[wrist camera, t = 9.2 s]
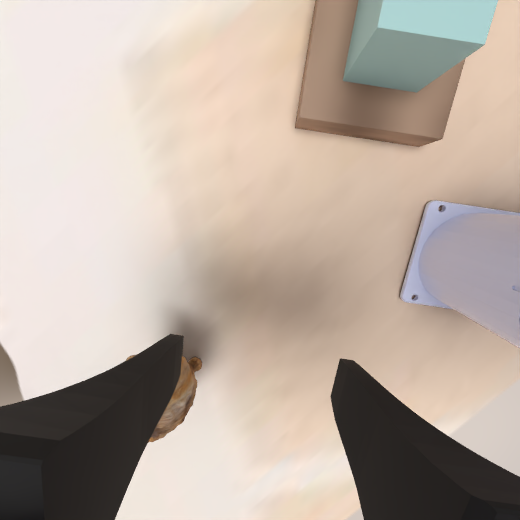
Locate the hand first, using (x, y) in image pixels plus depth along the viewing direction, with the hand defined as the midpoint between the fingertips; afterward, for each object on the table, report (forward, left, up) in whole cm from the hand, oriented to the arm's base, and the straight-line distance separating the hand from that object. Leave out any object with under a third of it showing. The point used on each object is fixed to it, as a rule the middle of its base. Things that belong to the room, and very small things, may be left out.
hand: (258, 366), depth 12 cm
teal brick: (-5, -17, -7) cm, 19 cm away
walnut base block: (-5, -17, -10) cm, 20 cm away
